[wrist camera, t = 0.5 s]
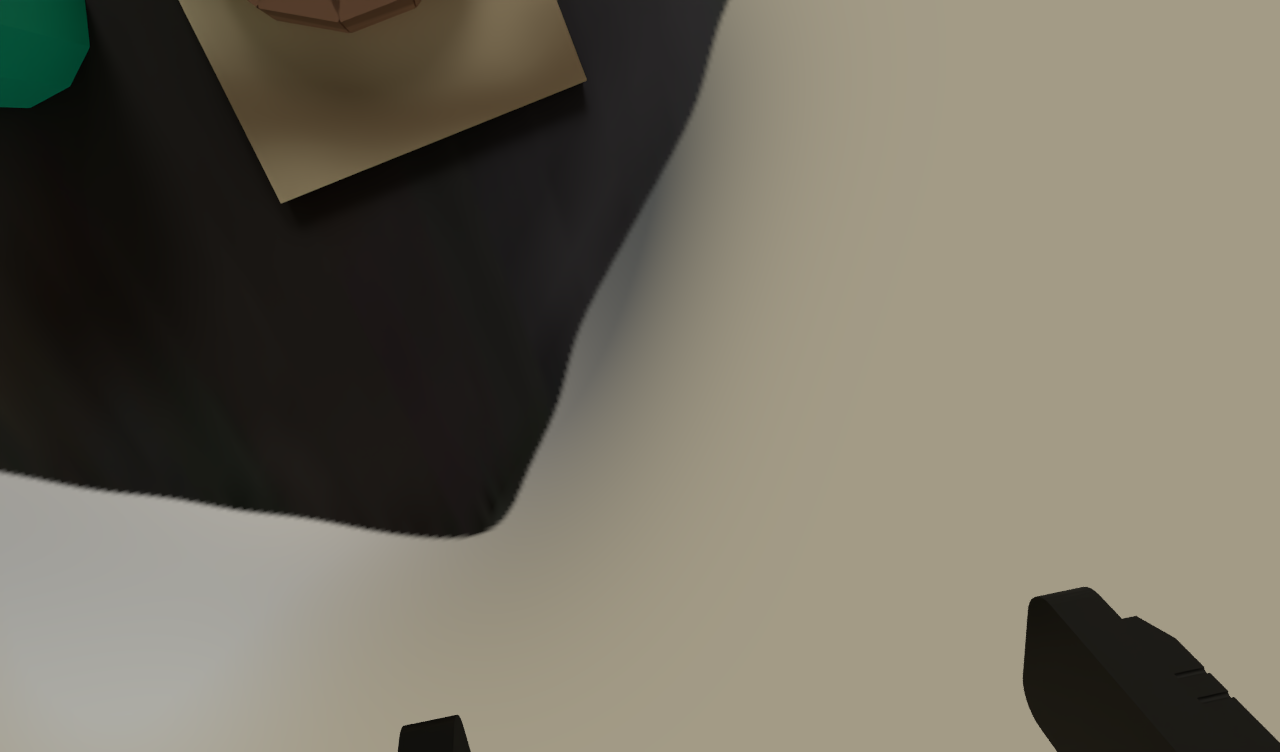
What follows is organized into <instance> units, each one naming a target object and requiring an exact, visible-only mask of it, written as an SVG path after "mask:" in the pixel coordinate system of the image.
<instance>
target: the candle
mask: <svg viewBox="0 0 1280 752" xmlns="http://www.w3.org/2000/svg"><path fill="white" fill-rule="evenodd" d="M89 48H90V42H89V33H88V24H87V14H86V5H85V0H0V107H10V108H31V107H33V106H35V105H37V104H39V103H41V102H42V101H44V100H46V99H48V98H50V97H52V96H53V95H55V94H57V93H59V92H61V91H63V90H64V89H66V88H68V87H70V85H71V83H72V82H73V80H74V78H75V76H76V74H77V72H78V70H79V68H80V66H81V64H82V62H83V60H84V58H85V56H86V54H87V52H88V50H89Z"/></svg>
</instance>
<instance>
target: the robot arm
mask: <svg viewBox="0 0 1280 752" xmlns="http://www.w3.org/2000/svg"><path fill="white" fill-rule="evenodd" d="M1023 686H1024V691H1025V696H1026V699H1027V702H1028V705H1029V708H1030V710H1031V712H1032V715H1033V717H1034V719H1035V720H1036V722H1037V724H1038V725H1039V727H1040V728H1041V730H1042V731H1043V732H1044V734H1045V735H1046V737H1047V738H1048V739H1049V741H1050V742H1051V744H1052V745H1053V746H1054V748H1055V749H1056V751H1057V752H1280V743H1279V742H1278V741H1277V740H1276V739H1275V738H1274V737H1273V736H1272V735H1271V734H1270V733H1269V732H1268V731H1267V730H1266V729H1265V728H1264V727H1263V726H1262V725H1261V724H1260V723H1259V722H1258V721H1257V720H1256V719H1255V718H1254V717H1253V716H1252V715H1251V714H1250V713H1249V712H1248V711H1247V710H1246V709H1245V708H1244V707H1243V706H1242V705H1241V704H1240V703H1239V702H1238V701H1237V700H1236V699H1235V698H1234V697H1233V698H1231V697H1230V696H1229V694H1228V691H1227V690H1226V689H1225V688H1224V686H1222V684H1220V682H1218V680H1216V679H1215V678H1214V676H1212V674H1210V673H1208V674H1207V673H1206V672H1205V670H1204V666H1202V664H1201V663H1200V662H1199V661H1198V660H1197V659H1196V658H1194V656H1192V654H1191V653H1190V652H1189V651H1188V650H1187V649H1185V647H1184V646H1183V645H1181V644H1180V642H1179V641H1178V640H1177V639H1175V638H1174V637H1172V636H1170V635H1169V634H1167V633H1165V632H1163V631H1161V630H1160V629H1158V628H1156V627H1155V626H1152V625H1151V624H1149V623H1147V622H1146V621H1144V620H1142V619H1140V618H1139V617H1137V616H1134V617H1129V618H1124V619H1121V617H1120V616H1119V615H1118V614H1117V613H1116V612H1115V611H1114V610H1113V609H1112V608H1111V607H1110V606H1109V605H1108V604H1107V603H1106V602H1105V601H1104V600H1103V599H1102V597H1101V596H1100V595H1099V594H1097V593H1096V592H1095V591H1094V590H1092V589H1091V588H1088V587H1081V588H1076V589H1071V590H1067V591H1062V592H1057V593H1052V594H1047V595H1043V596H1037V597H1034V598H1033V599H1031V601H1030V603H1029V607H1028V617H1027V630H1026V643H1025V656H1024V669H1023ZM398 752H471V751H470V748H469V745H468V741H467V737H466V734H465V731H464V727H463V724H462V721H461V718H460V717H459V715H454V716H449V717H445V718H440V719H434V720H430V721H425V722H420V723H416V724H410V725H405V726H403V727H402V729H401V732H400V737H399V746H398Z"/></svg>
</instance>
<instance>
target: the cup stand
mask: <svg viewBox="0 0 1280 752" xmlns="http://www.w3.org/2000/svg"><path fill="white" fill-rule="evenodd" d="M179 2H180V4H181V6H182V8H183V10H184V12H185V14H186V16H187V18H188V20H189V22H190V24H191V26H192V28H193V30H194V32H195V34H196V36H197V38H198V40H199V42H200V44H201V46H202V48H203V50H204V52H205V54H206V56H207V58H208V60H209V62H210V64H211V65H212V67H213V69H214V71H215V73H216V75H217V77H218V79H219V81H220V83H221V85H222V87H223V89H224V91H225V93H226V95H227V97H228V99H229V101H230V103H231V105H232V107H233V109H234V111H235V113H236V115H237V117H238V119H239V121H240V123H241V125H242V127H243V129H244V131H245V133H246V135H247V137H248V139H249V141H250V143H251V145H252V147H253V149H254V151H255V153H256V155H257V157H258V159H259V161H260V163H261V165H262V167H263V169H264V171H265V173H266V175H267V177H268V179H269V181H270V183H271V185H272V187H273V189H274V191H275V193H276V195H277V197H278V199H279V201H280V203H284V202H286V201H289V200H291V199H294V198H296V197H299V196H301V195H304V194H306V193H309V192H311V191H314V190H316V189H319V188H321V187H324V186H326V185H329V184H331V183H334V182H336V181H339V180H341V179H344V178H346V177H349V176H351V175H354V174H356V173H358V172H361V171H363V170H366V169H368V168H371V167H373V166H376V165H378V164H381V163H383V162H386V161H388V160H391V159H393V158H396V157H398V156H401V155H403V154H406V153H408V152H411V151H413V150H416V149H418V148H421V147H423V146H426V145H428V144H431V143H433V142H436V141H438V140H441V139H443V138H446V137H448V136H451V135H453V134H456V133H458V132H460V131H463V130H465V129H468V128H470V127H473V126H475V125H478V124H480V123H483V122H485V121H488V120H490V119H493V118H495V117H498V116H500V115H503V114H505V113H508V112H510V111H513V110H515V109H518V108H520V107H523V106H525V105H528V104H530V103H533V102H535V101H538V100H540V99H543V98H545V97H548V96H550V95H553V94H555V93H558V92H560V91H562V90H565V89H567V88H570V87H572V86H575V85H577V84H580V83H582V82H585V81H587V79H586V76H585V74H584V71H583V69H582V66H581V63H580V61H579V58H578V55H577V53H576V50H575V48H574V45H573V42H572V40H571V37H570V34H569V32H568V29H567V26H566V24H565V21H564V19H563V16H562V13H561V11H560V8H559V5H558V3H557V0H179Z"/></svg>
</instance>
